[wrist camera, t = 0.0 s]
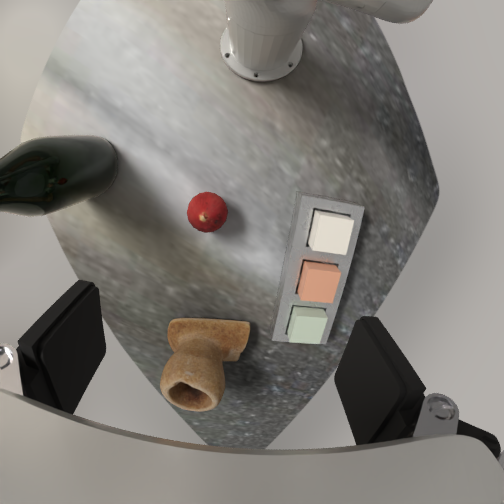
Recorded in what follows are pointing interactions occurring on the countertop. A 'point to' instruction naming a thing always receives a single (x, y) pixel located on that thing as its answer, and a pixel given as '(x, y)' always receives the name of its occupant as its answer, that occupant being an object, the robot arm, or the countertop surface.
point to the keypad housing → (311, 260)
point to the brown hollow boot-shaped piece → (201, 360)
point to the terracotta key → (318, 282)
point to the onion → (207, 212)
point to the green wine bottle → (55, 173)
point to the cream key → (330, 232)
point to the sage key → (307, 325)
